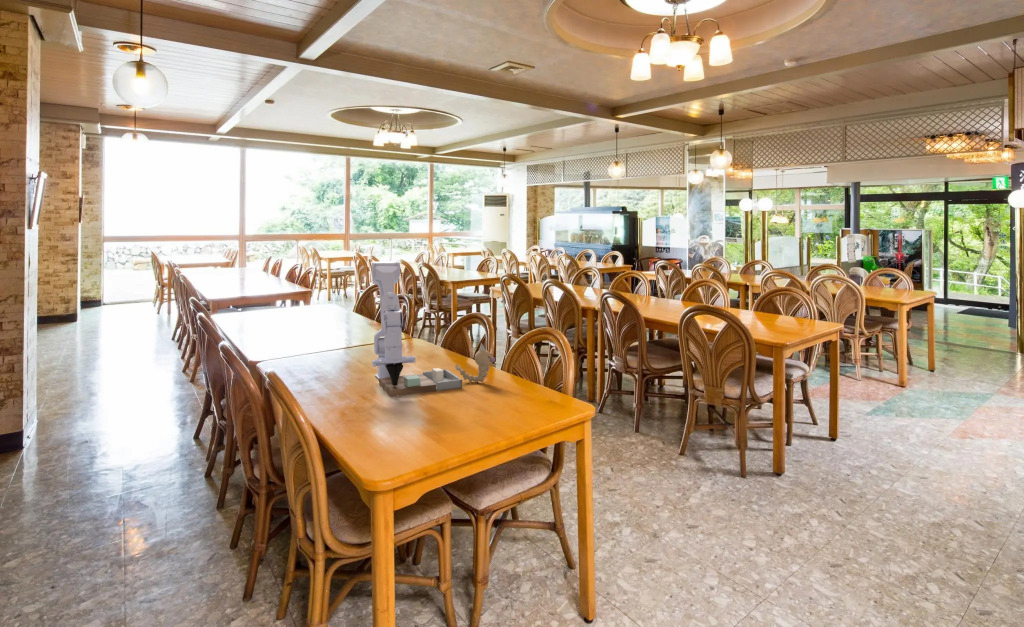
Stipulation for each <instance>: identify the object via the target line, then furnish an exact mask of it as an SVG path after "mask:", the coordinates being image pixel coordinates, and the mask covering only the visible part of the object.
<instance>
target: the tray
mask: <svg viewBox="0 0 1024 627" xmlns="http://www.w3.org/2000/svg"><path fill="white" fill-rule="evenodd" d="M442 370H443V381H442V382H437V383H435V382H434V381H432V370H428V371H422V374H423V375H424V376H426V377H427V378H428V379H430V380H431V381H432V382H434V383H435V384H436V392H441V391H449V390H457V389H463V379H462V378H460V377H459V376H457V375H456V374H454V373H453V372H452V371H449V370H448V369H446V368H445V369H442Z"/></svg>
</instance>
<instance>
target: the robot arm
mask: <svg viewBox="0 0 1024 627" xmlns="http://www.w3.org/2000/svg"><path fill="white" fill-rule="evenodd" d="M400 276H401V265H400V262H399V261H398V260H396V261H395V260H394V261H391V260H390V261H374V260H373V261H372V262H371V277H372V278H371V281H372V283H373V284H375V285H377V287H378V289H379V304H380V305H379V306H380V327H381V328H380V329H379V330H378V331H376V332H375V334H374V335H373V338H374V339H373V349H374V354H375V355H377V359H371V367H373V368H376V367H377V373H375V374H374V376H375V377H376V378H377V379H378V380H379V378H386V377H390V378H391V382H392V385H393V386H396V385H397V383H398V379H399V376H401V374H402V373H401V372H402V371H403V369H404V364H410V363H413V364H415V363H416V356H415V355H409V356H403V332H402V328H403V325H404V315H403V311H402V308H401V306H400V300H399V295H398V294H397V293H395V284H398V282H399V280H400Z"/></svg>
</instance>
